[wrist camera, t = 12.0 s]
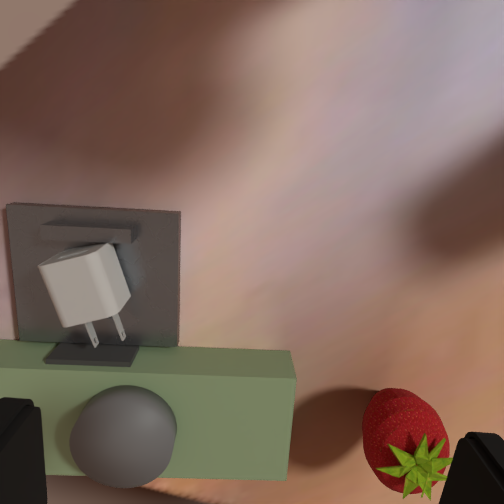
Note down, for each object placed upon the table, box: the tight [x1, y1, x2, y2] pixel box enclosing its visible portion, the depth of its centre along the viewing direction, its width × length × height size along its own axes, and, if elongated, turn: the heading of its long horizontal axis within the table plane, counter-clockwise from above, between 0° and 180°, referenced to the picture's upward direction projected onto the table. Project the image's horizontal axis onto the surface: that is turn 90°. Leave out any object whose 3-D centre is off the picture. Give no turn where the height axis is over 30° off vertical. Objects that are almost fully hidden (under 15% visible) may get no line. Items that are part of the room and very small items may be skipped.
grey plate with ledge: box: [6, 202, 181, 347], centre depth 29 cm, size 10×12×2 cm
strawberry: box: [362, 388, 453, 501], centre depth 29 cm, size 6×8×10 cm
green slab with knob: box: [0, 339, 297, 488], centre depth 30 cm, size 9×24×6 cm, turn 87°
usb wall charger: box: [38, 242, 131, 348], centre depth 27 cm, size 4×7×4 cm, turn 14°
